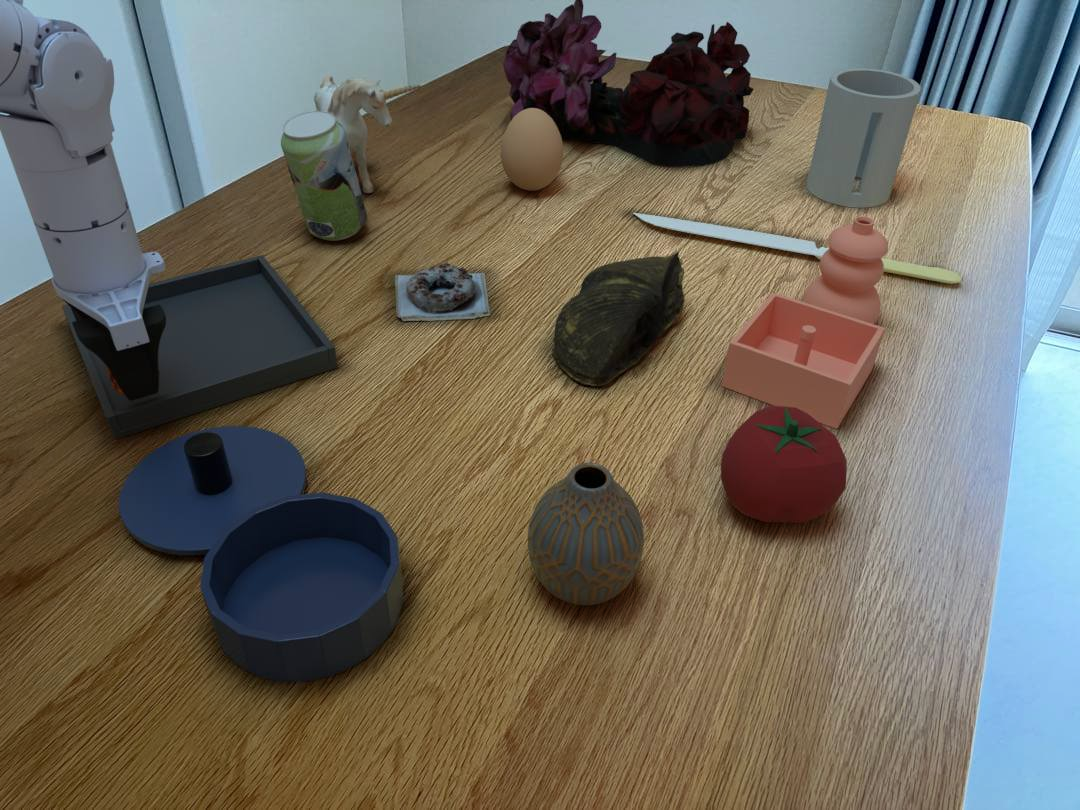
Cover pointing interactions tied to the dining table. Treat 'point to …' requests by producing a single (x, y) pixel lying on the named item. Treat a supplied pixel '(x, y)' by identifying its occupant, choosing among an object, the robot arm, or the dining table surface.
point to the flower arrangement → (633, 90)
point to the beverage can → (323, 175)
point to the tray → (216, 344)
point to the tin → (303, 586)
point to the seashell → (617, 317)
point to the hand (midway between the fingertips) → (136, 379)
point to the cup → (862, 136)
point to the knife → (793, 246)
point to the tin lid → (207, 486)
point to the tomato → (783, 466)
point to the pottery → (816, 333)
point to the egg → (532, 150)
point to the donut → (441, 294)
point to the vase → (585, 537)
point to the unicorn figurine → (357, 112)
